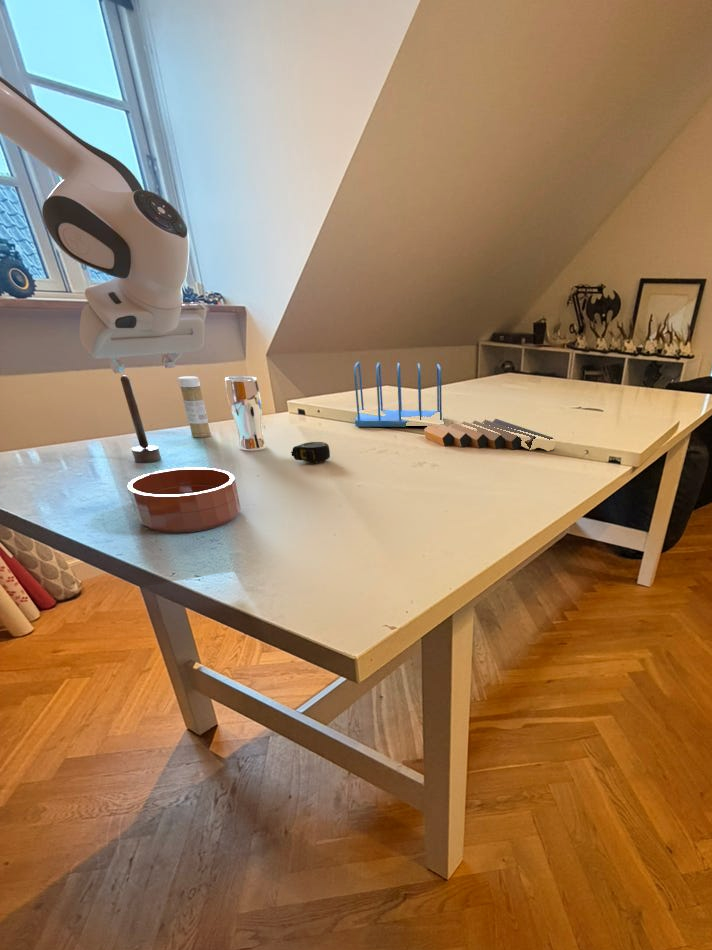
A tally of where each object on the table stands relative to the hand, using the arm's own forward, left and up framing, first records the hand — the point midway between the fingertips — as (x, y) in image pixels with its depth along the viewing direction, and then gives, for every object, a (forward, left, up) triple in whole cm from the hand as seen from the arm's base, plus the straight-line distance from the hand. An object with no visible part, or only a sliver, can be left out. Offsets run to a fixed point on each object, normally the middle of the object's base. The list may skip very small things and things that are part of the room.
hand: (143, 367), depth 100 cm
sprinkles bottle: (+8, +29, -19) cm, 36 cm away
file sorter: (+62, +32, -19) cm, 72 cm away
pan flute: (+74, -1, -19) cm, 77 cm away
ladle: (-4, +9, -19) cm, 21 cm away
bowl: (+2, -31, -19) cm, 36 cm away
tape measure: (+28, -3, -19) cm, 34 cm away
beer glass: (+18, +13, -19) cm, 29 cm away
